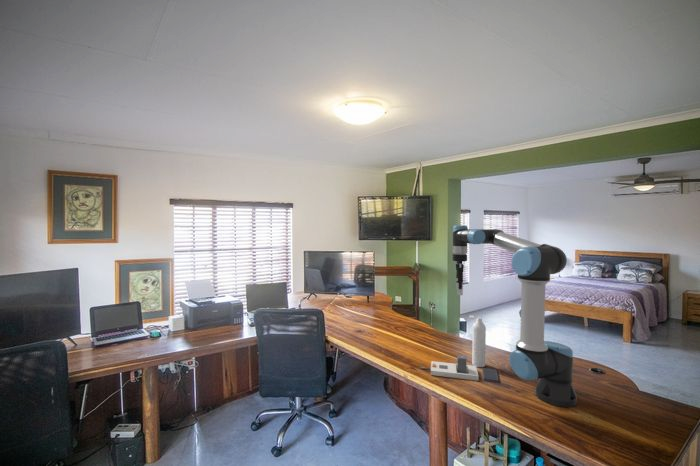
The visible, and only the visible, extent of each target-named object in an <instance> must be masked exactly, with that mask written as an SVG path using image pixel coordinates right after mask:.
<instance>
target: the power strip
mask: <svg viewBox="0 0 700 466" xmlns="http://www.w3.org/2000/svg"><path fill="white" fill-rule="evenodd" d="M477 368H478V367H476V366H474V365H471V364H466V374H464V373H457V363H451V362H444V361H441V362H440V361H434V360H431V363H430V367H427V366H425V367H424V366H420V367H419V369H420V370H428V371H430V375H431V376H437V377H444V378H454V379H460V380H469V381H470V380H471V381H477V382H479V378H480V376H479V372H478V369H477Z"/></svg>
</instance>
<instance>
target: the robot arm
mask: <svg viewBox="0 0 700 466" xmlns="http://www.w3.org/2000/svg"><path fill="white" fill-rule="evenodd" d="M452 228H453V229H452V247H451V250H452V253H453V254H452V261H453V262H456V263H455V270H456V275H455V278H456V280H455V285H456V287H455V289H456V290H455V291H457V292H456V295H457V296H464V295H463V294H464V267H465V265H464V263H463V262H467V261H468V254H467V253H468V244H469V245H481V244H482V245H486V244H487V245H488V244H490V245H493V246H496V247H498V248H501V249H503V250H504V249H505V250H506V251H509V252H512V253H514V254H513V256H512V257H511V267H512V268H511V269H513V271H514V273H515V274H516V275H517V280H518V281H520V283H521V291H520V292H521V295H520V296H521V298H520V299H521V300H520V339H519V340H518V341H516V343H515V350H513V351H511V353H510V354H509V358H508V359H509V360H508V361H509V363H510V368H512V369H511V370H513V372H514V374H515V375H516V376H517V377H519V378H520V379H522V380H523V381H524V380H525V381H536V380H538V381H537V383H536V386H535V389H534V390H535V392H534V393H535V394H534V395H535V396H536V397H537V398H538V399H539V400H541V401H542V402H544V403H546V404H549V405H553V406H557V407H562V408H571V407H575V406H577V405H578V397H577V394H576V391H575V388H574V384H573V362H574V361H573V360H574V356H573V355H574V354H573V353H574V352H573V350H572V348H571V347H570V346H568V345H565V344H562V343H559V342H554V341H550V340H549V341H548V340H545V314H546V285H547V284H548V283H550V281H551V275H555V274H559V273H560V272H562V271H563V270H564V269H565V268H566V266H567V263H568V262H567V261H568V259H567V255H566V253H565V251H563V250H562V249H561V248H559V247H557V246H554V245H549V244H547V243H542V244H540V243H536V242H533V241H530V240H527V239H524V238H521V237H518V236H515V235H512V234H509V233H506V232H505V231H503V230H502V229H497V228H493V229H489V228H488V229H486V228H485V229H483V228H482V229H480V228H479V229H478V228H472V229H471V228H468V225H454V226H453V227H452Z"/></svg>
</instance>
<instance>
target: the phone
mask: <svg viewBox="0 0 700 466" xmlns="http://www.w3.org/2000/svg"><path fill="white" fill-rule="evenodd" d="M482 377H483V381H485V382H493V383H499V377H498V372H497V369H493V368H485V367H482Z"/></svg>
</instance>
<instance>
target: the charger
mask: <svg viewBox="0 0 700 466" xmlns="http://www.w3.org/2000/svg"><path fill="white" fill-rule="evenodd" d="M456 361H457V362H456V364H457V373H464V374H466V365H467V356H466V355H460V354H459V355H458V354H457V359H456Z"/></svg>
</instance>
